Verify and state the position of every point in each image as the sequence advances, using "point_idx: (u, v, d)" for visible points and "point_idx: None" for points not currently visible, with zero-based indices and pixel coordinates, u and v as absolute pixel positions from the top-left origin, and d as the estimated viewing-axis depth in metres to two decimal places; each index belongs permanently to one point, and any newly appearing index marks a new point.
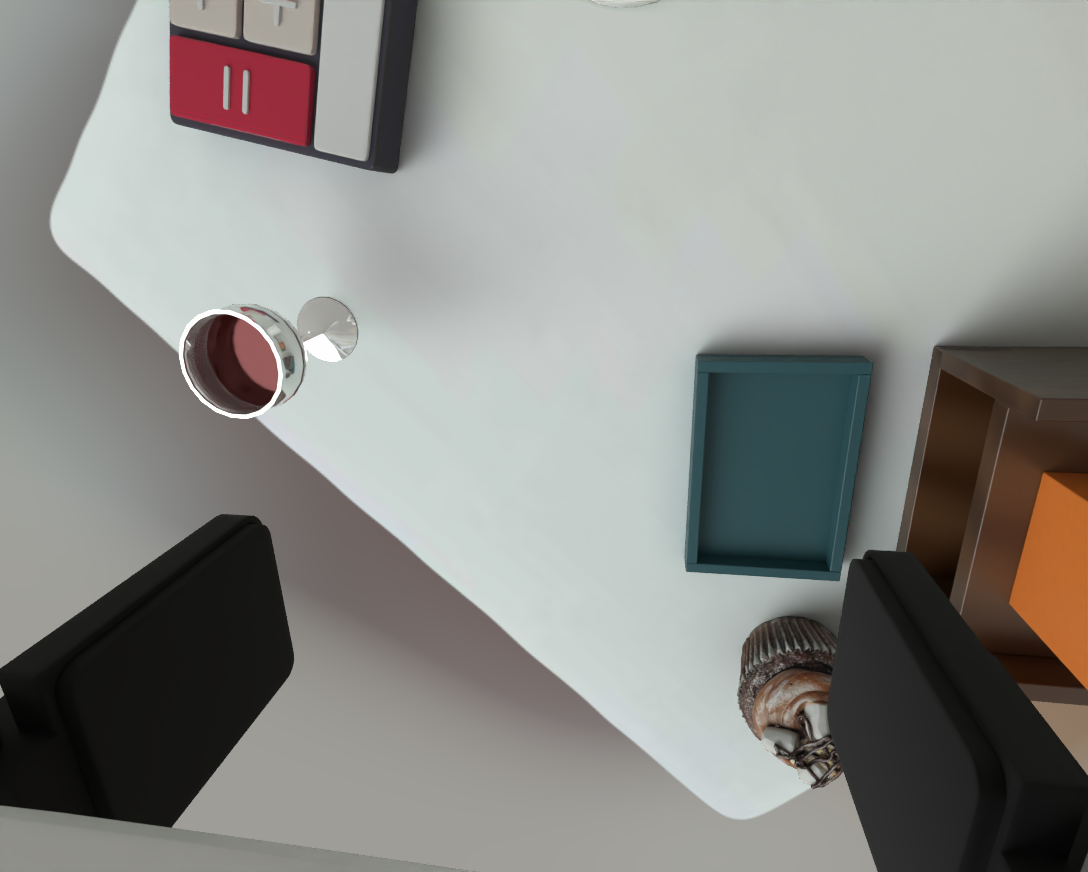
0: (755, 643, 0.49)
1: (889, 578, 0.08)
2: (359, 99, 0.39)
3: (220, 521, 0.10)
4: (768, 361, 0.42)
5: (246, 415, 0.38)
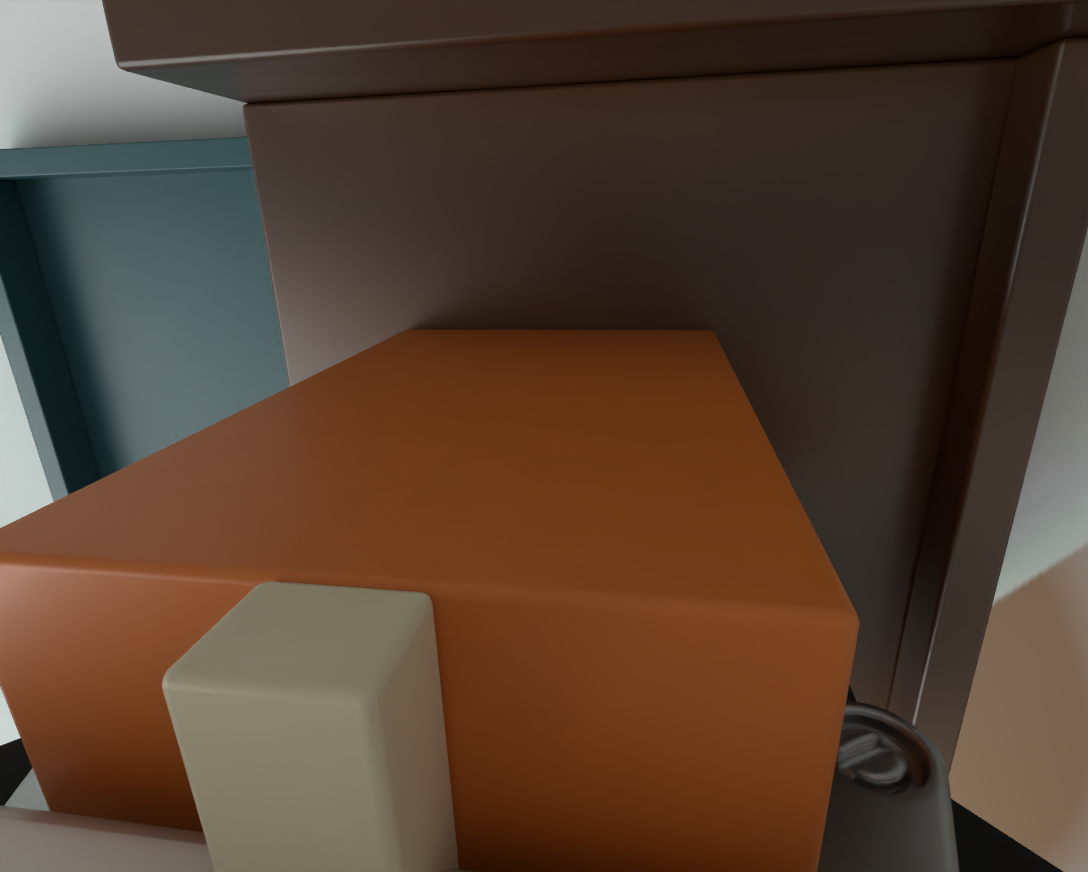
0: None
1: None
2: None
3: None
4: (73, 146, 0.19)
5: None
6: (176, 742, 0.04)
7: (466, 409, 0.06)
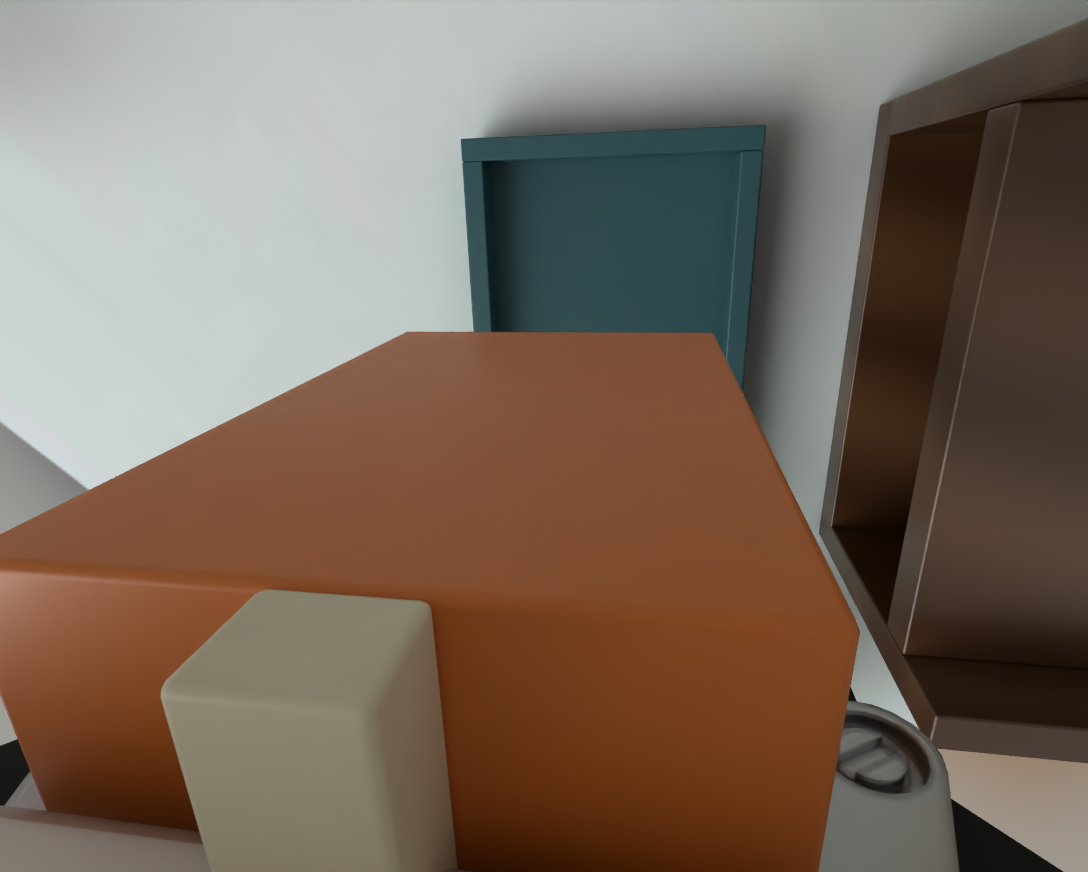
0: None
1: None
2: None
3: None
4: (581, 134, 0.23)
5: None
6: (175, 749, 0.04)
7: (466, 413, 0.06)
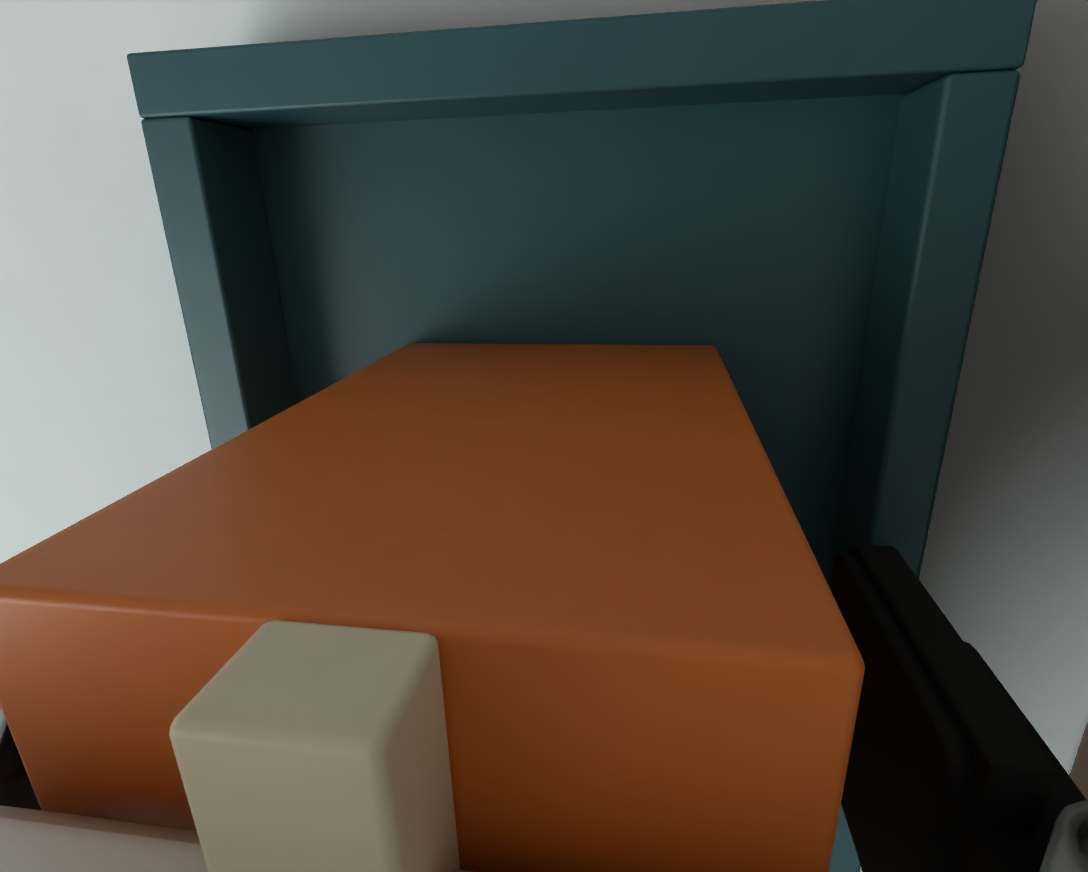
0: None
1: (870, 571, 0.08)
2: None
3: None
4: (456, 32, 0.08)
5: None
6: (180, 775, 0.04)
7: (469, 431, 0.06)
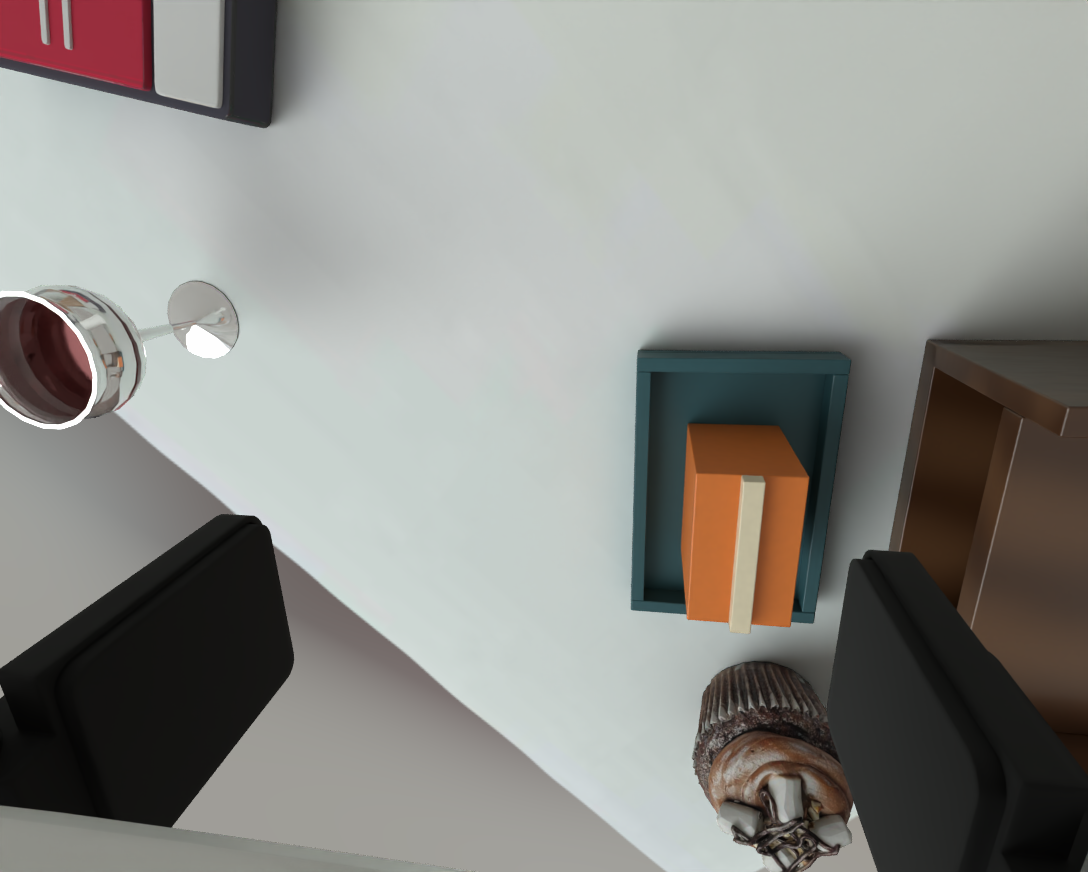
0: (715, 694, 0.41)
1: (889, 578, 0.08)
2: (203, 28, 0.31)
3: (220, 521, 0.10)
4: (722, 358, 0.34)
5: (59, 425, 0.30)
6: (720, 498, 0.30)
7: (739, 451, 0.33)
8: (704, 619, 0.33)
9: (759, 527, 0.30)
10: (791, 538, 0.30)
